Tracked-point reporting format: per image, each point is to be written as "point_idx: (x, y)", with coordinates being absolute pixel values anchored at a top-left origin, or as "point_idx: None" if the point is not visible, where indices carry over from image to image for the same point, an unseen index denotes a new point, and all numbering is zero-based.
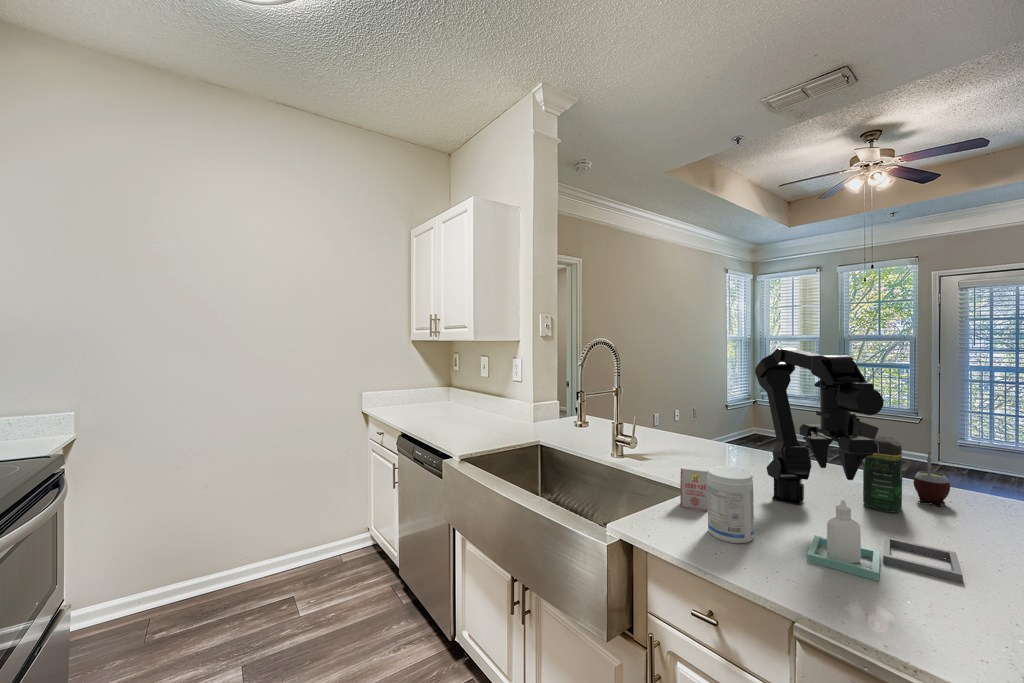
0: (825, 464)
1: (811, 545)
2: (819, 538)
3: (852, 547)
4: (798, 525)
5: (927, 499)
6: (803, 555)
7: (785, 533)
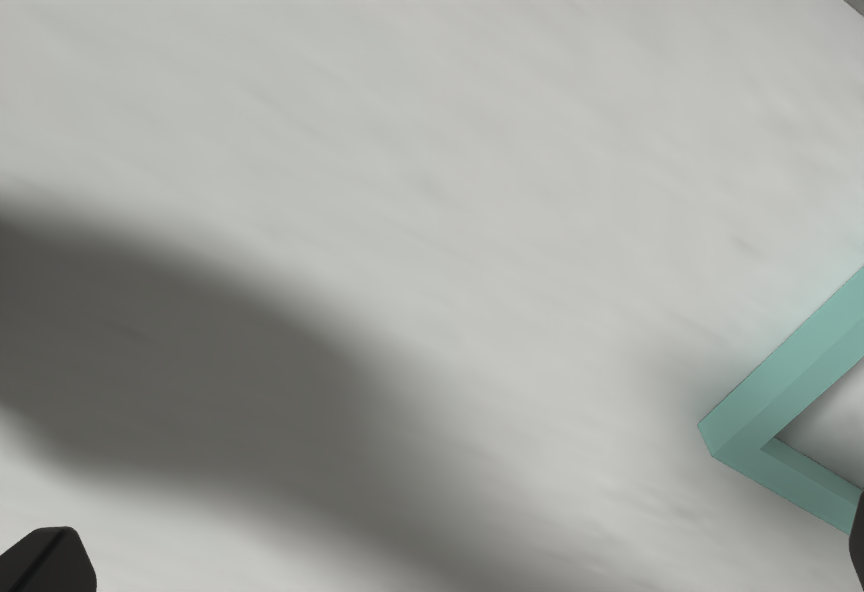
0: (38, 588)
1: None
2: (756, 446)
3: None
4: (429, 401)
5: None
6: None
7: (570, 519)
